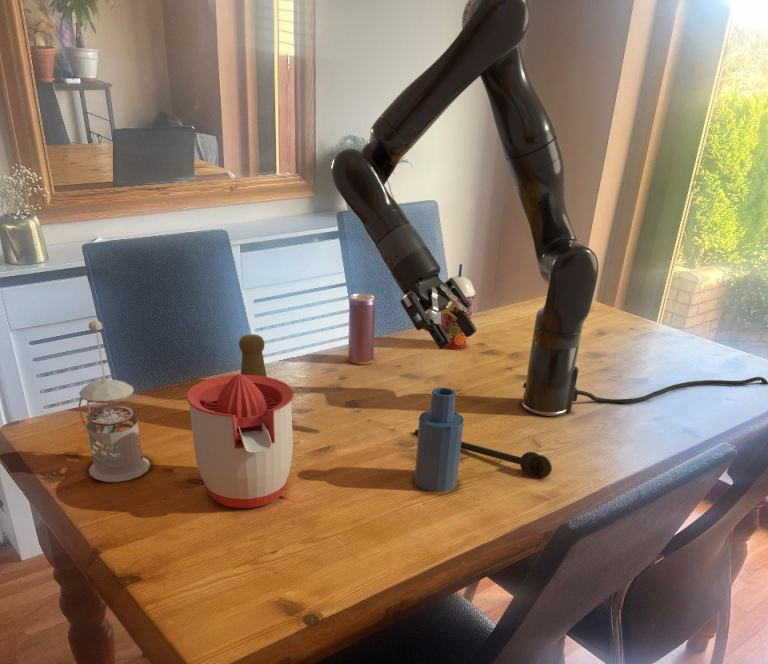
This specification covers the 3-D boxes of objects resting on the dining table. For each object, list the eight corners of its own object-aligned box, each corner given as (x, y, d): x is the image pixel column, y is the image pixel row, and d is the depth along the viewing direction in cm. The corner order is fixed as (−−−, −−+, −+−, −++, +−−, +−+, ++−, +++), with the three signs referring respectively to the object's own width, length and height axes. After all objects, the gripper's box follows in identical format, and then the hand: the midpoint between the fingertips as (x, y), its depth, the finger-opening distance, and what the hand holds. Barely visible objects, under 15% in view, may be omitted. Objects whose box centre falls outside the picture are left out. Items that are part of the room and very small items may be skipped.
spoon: (416, 421, 135) (553, 457, 121) (416, 442, 137) (550, 480, 123) (414, 422, 135) (552, 458, 120) (414, 443, 137) (549, 481, 123)
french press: (116, 487, 115) (89, 335, 102) (68, 467, 120) (37, 319, 107) (162, 464, 122) (142, 319, 109) (115, 446, 127) (91, 305, 114)
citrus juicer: (211, 531, 106) (198, 405, 95) (188, 477, 119) (175, 361, 109) (312, 512, 111) (311, 391, 101) (280, 462, 125) (275, 351, 114)
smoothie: (447, 352, 178) (455, 269, 167) (430, 342, 184) (437, 261, 173) (476, 348, 181) (485, 267, 171) (458, 338, 187) (466, 259, 177)
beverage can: (370, 366, 167) (372, 301, 159) (345, 363, 168) (346, 298, 160) (375, 357, 172) (378, 294, 164) (351, 354, 173) (352, 292, 165)
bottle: (450, 473, 124) (460, 383, 116) (460, 493, 118) (471, 400, 110) (411, 474, 123) (417, 383, 114) (419, 495, 117) (426, 401, 109)
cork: (273, 384, 155) (271, 334, 149) (258, 393, 150) (255, 342, 145) (250, 379, 157) (247, 329, 151) (234, 387, 152) (230, 337, 147)
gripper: (397, 251, 114) (452, 338, 115) (444, 239, 124) (495, 319, 125) (369, 279, 119) (422, 362, 120) (417, 265, 129) (465, 342, 130)
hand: (459, 340), depth 122 cm, fingers open, 8 cm apart
